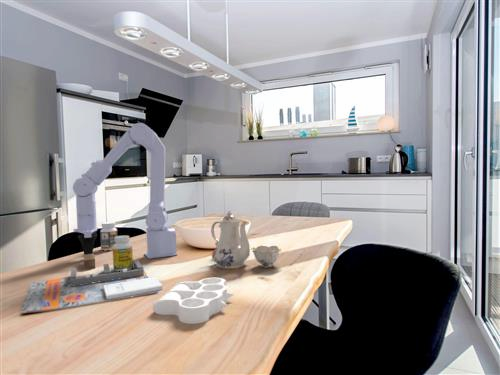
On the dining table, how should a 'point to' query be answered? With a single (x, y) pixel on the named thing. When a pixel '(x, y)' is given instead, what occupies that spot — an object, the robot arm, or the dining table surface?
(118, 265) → the supplement bottle
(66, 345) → the dining table surface
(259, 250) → the chinaware
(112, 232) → the pill bottle
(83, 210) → the robot arm
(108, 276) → the slot rack
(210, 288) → the white egg tray
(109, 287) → the external hard drive
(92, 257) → the walnut bar
